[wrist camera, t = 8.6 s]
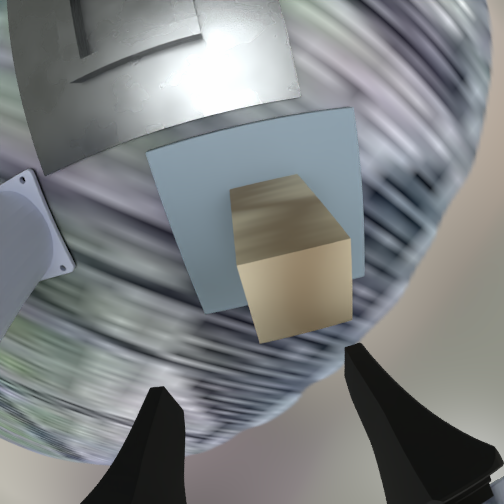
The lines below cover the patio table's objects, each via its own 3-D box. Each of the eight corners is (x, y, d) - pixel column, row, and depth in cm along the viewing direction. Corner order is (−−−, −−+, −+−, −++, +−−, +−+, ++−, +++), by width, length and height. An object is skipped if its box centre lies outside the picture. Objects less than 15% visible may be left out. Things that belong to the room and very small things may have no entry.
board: (205, 309, 22) (205, 314, 21) (147, 150, 16) (145, 152, 15) (361, 271, 22) (364, 275, 21) (349, 106, 16) (353, 107, 15)
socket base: (49, 173, 15) (33, 183, 14) (11, -20, 7) (-6, -25, 5) (298, 96, 15) (308, 97, 13) (240, -107, 7) (242, -123, 5)
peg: (244, 248, 19) (259, 343, 12) (229, 189, 17) (236, 265, 10) (306, 233, 19) (352, 319, 12) (297, 174, 17) (350, 238, 10)
